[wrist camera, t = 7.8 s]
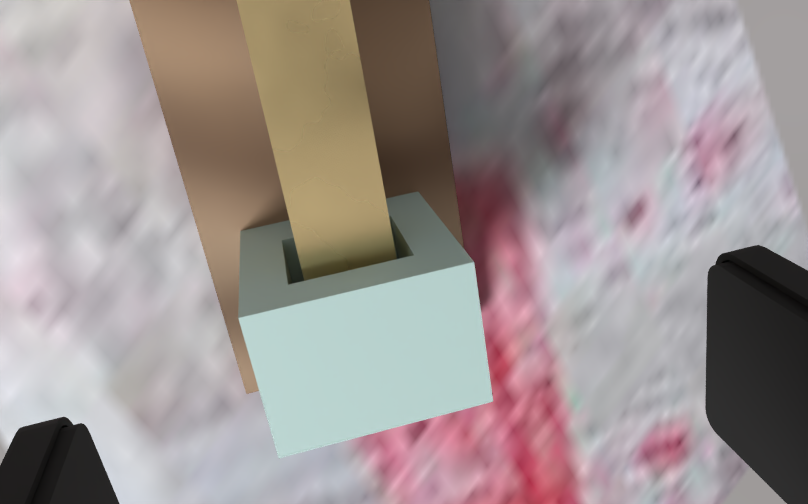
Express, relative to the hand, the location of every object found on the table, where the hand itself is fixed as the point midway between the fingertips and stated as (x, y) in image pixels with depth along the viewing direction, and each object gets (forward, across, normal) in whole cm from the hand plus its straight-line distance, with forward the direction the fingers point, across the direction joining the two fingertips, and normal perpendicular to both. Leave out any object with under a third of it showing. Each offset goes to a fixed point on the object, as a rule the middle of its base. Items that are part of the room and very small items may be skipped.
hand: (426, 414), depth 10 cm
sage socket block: (+17, 0, +5) cm, 18 cm away
